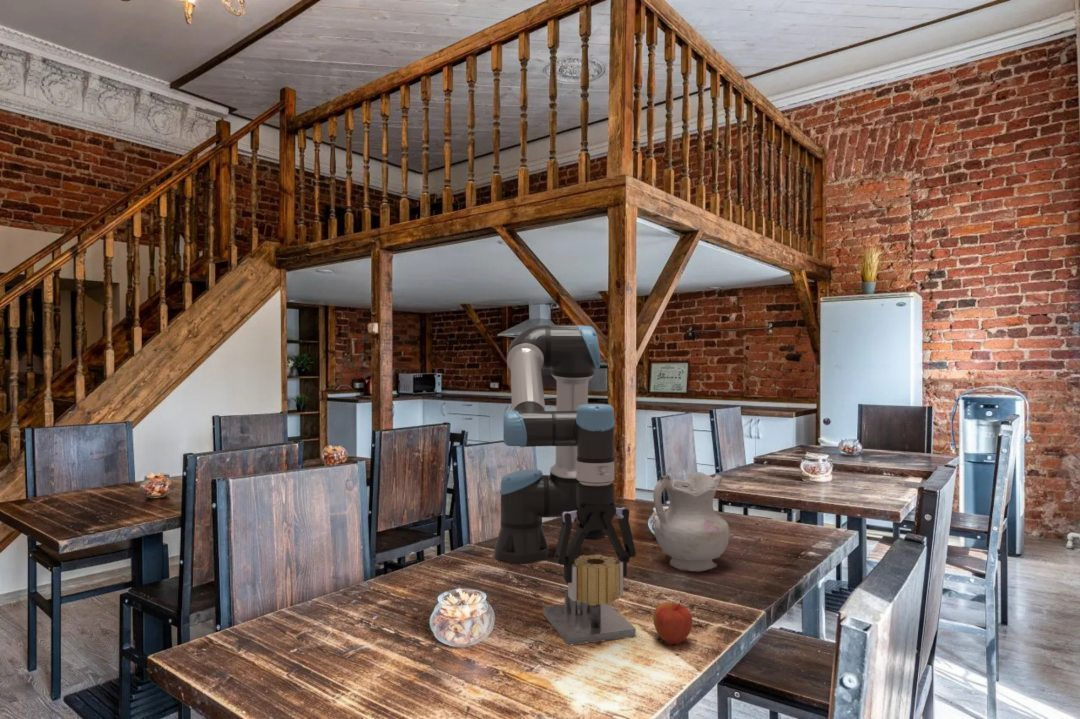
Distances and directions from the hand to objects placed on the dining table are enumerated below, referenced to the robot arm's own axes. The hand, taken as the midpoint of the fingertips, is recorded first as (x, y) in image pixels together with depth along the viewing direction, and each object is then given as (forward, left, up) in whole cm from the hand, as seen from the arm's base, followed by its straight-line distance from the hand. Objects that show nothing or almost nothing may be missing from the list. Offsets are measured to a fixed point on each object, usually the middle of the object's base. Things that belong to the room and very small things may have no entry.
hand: (595, 595), depth 124 cm
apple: (+8, +13, -8) cm, 17 cm away
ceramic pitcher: (-32, +40, -8) cm, 52 cm away
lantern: (-67, +26, -8) cm, 72 cm away
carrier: (-5, 0, -8) cm, 9 cm away
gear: (0, 0, 0) cm, 0 cm away
